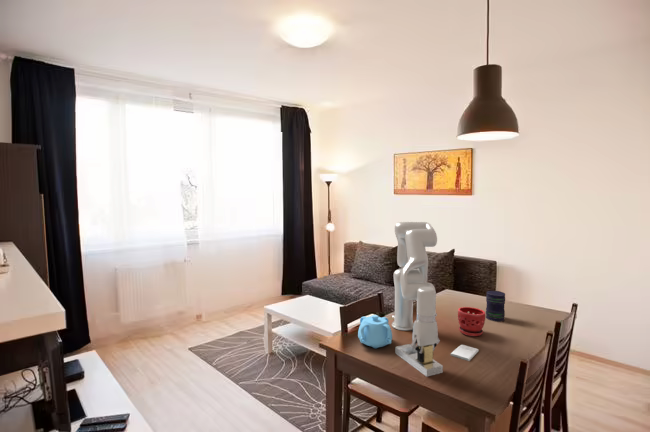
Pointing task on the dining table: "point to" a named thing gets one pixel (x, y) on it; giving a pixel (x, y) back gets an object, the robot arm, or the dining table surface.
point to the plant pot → (471, 321)
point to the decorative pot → (375, 331)
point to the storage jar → (495, 306)
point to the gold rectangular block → (427, 354)
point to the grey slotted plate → (412, 360)
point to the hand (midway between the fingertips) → (425, 359)
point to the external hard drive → (464, 352)
